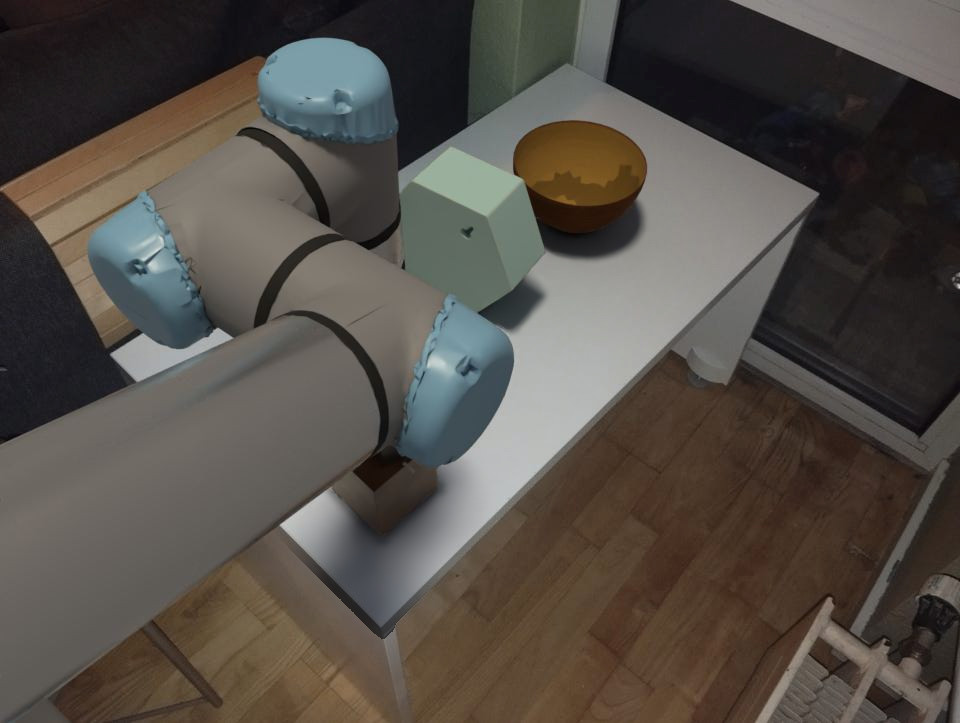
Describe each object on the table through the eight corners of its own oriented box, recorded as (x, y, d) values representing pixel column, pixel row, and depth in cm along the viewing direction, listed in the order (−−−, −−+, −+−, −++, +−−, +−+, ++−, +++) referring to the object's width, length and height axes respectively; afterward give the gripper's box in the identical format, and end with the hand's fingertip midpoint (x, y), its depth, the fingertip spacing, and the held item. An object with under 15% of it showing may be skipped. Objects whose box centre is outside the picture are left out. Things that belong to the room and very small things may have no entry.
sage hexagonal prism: (484, 293, 106) (573, 234, 88) (452, 328, 102) (538, 274, 84) (399, 200, 103) (473, 121, 85) (362, 233, 99) (432, 156, 81)
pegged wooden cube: (380, 552, 78) (372, 506, 70) (316, 488, 82) (302, 438, 74) (452, 488, 82) (452, 439, 74) (388, 430, 86) (382, 378, 78)
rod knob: (403, 456, 73) (399, 415, 67) (382, 467, 72) (376, 426, 66) (372, 412, 76) (366, 368, 70) (353, 422, 75) (344, 379, 69)
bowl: (484, 228, 107) (487, 170, 99) (548, 162, 116) (555, 104, 108) (596, 281, 101) (608, 225, 93) (654, 208, 110) (669, 150, 102)
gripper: (417, 193, 59) (425, 373, 78) (229, 269, 54) (286, 443, 72) (470, 251, 55) (465, 426, 74) (274, 340, 50) (322, 504, 69)
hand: (377, 434), depth 73 cm, fingers closed on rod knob, 2 cm apart
